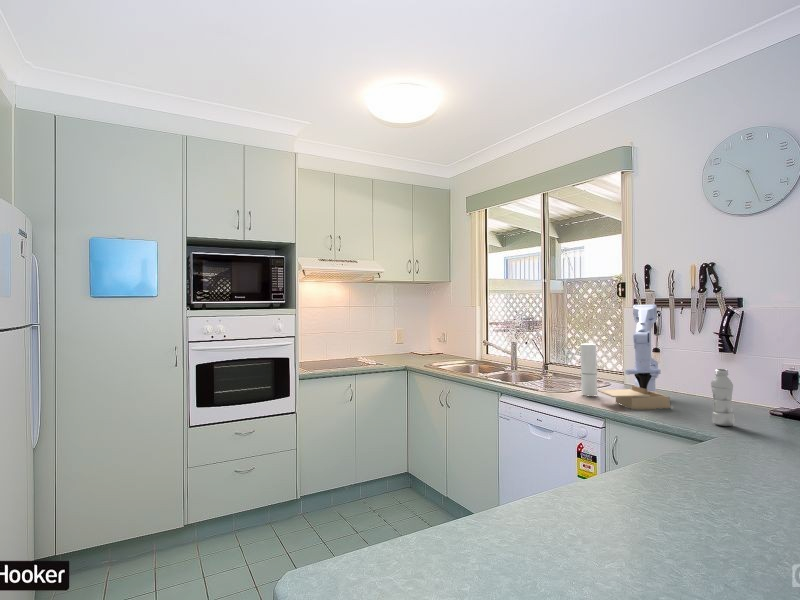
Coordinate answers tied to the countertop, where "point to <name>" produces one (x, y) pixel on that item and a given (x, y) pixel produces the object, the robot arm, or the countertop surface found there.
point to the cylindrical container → (588, 369)
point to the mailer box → (645, 401)
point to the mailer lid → (627, 392)
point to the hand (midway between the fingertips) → (643, 390)
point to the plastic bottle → (722, 399)
